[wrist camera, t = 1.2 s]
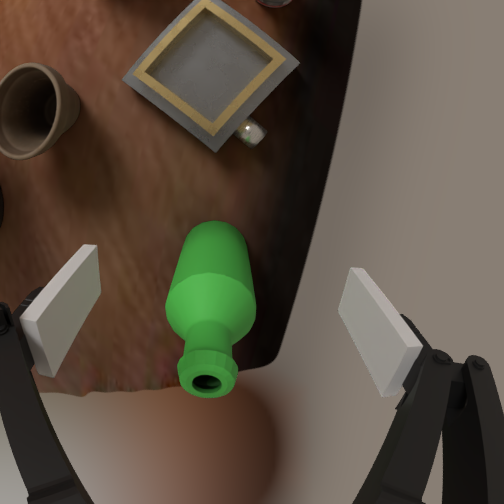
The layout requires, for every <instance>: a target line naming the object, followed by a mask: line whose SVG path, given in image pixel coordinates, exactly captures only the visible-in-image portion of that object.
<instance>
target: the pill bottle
mask: <svg viewBox="0 0 504 504" xmlns="http://www.w3.org/2000/svg"><path fill="white" fill-rule="evenodd" d="M257 1H258V2H259V3H260V4H262V5H264V6H267V7H274V8H276V7H282V6H285V5H287V4H289V3H290V2H291V1H292V0H257Z"/></svg>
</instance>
